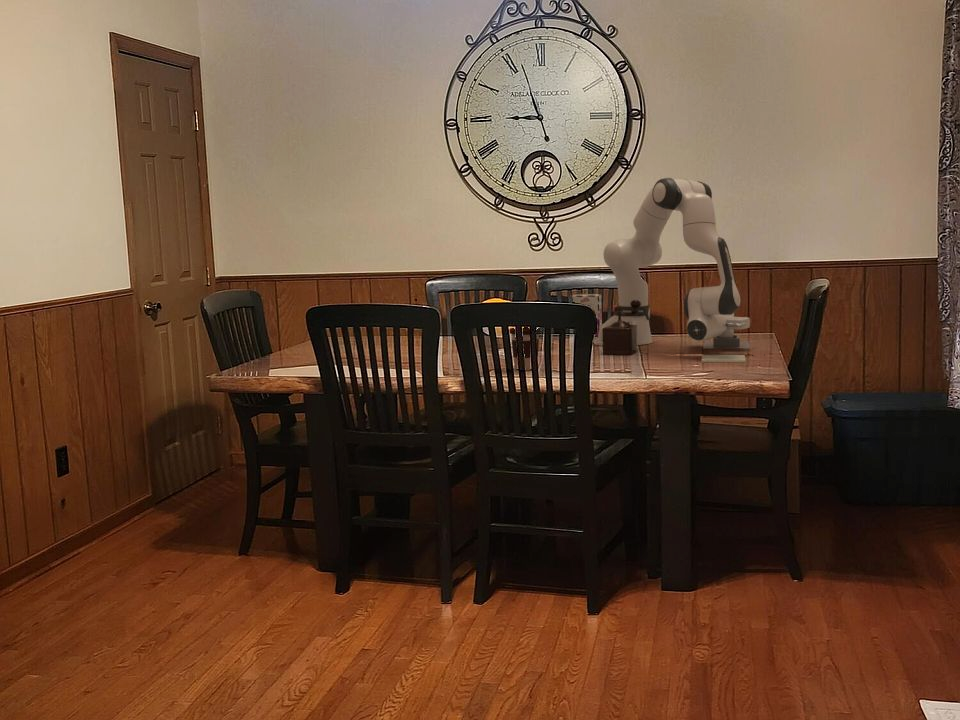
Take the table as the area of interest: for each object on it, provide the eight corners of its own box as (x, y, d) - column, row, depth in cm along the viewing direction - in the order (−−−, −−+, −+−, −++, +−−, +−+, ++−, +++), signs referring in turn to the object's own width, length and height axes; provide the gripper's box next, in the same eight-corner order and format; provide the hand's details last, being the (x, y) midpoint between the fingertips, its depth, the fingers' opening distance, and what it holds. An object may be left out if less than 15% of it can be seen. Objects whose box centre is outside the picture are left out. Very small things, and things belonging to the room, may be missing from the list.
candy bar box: (602, 334, 418) (602, 294, 416) (599, 336, 414) (599, 295, 411) (575, 334, 422) (574, 293, 419) (572, 336, 417) (571, 295, 415)
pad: (701, 362, 346) (701, 360, 346) (702, 355, 359) (702, 353, 359) (745, 362, 343) (745, 360, 343) (744, 355, 356) (744, 353, 356)
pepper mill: (632, 355, 364) (632, 304, 361) (602, 354, 368) (601, 303, 365) (642, 348, 378) (642, 299, 376) (613, 348, 383) (612, 299, 380)
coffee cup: (509, 367, 348) (508, 322, 345) (539, 365, 348) (538, 321, 346) (512, 372, 338) (511, 325, 336) (542, 370, 339) (541, 324, 336)
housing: (703, 351, 369) (703, 339, 368) (704, 344, 384) (704, 333, 384) (750, 351, 365) (750, 339, 365) (749, 344, 381) (749, 333, 380)
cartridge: (718, 346, 373) (718, 304, 370) (718, 343, 378) (718, 302, 376) (734, 346, 371) (734, 304, 369) (734, 343, 377) (734, 302, 374)
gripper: (742, 316, 356) (756, 311, 368) (686, 314, 368) (700, 309, 379) (742, 334, 357) (755, 329, 369) (686, 332, 369) (700, 327, 380)
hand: (727, 319), depth 374 cm, fingers closed on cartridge, 5 cm apart
